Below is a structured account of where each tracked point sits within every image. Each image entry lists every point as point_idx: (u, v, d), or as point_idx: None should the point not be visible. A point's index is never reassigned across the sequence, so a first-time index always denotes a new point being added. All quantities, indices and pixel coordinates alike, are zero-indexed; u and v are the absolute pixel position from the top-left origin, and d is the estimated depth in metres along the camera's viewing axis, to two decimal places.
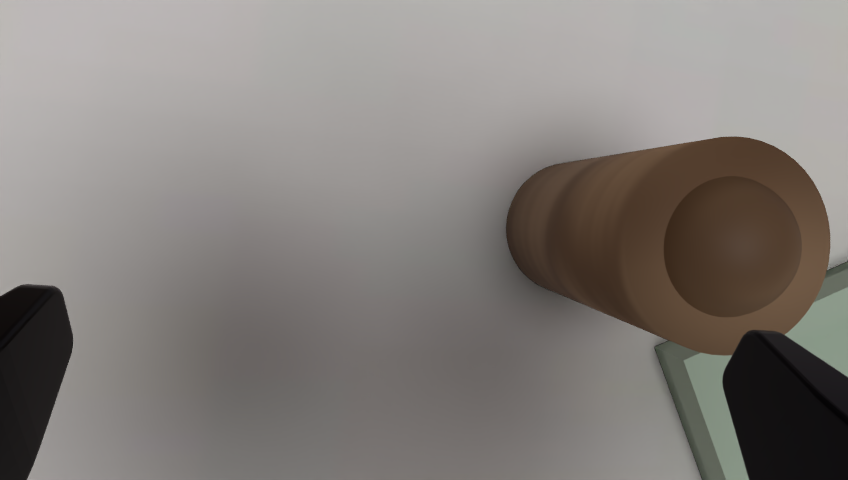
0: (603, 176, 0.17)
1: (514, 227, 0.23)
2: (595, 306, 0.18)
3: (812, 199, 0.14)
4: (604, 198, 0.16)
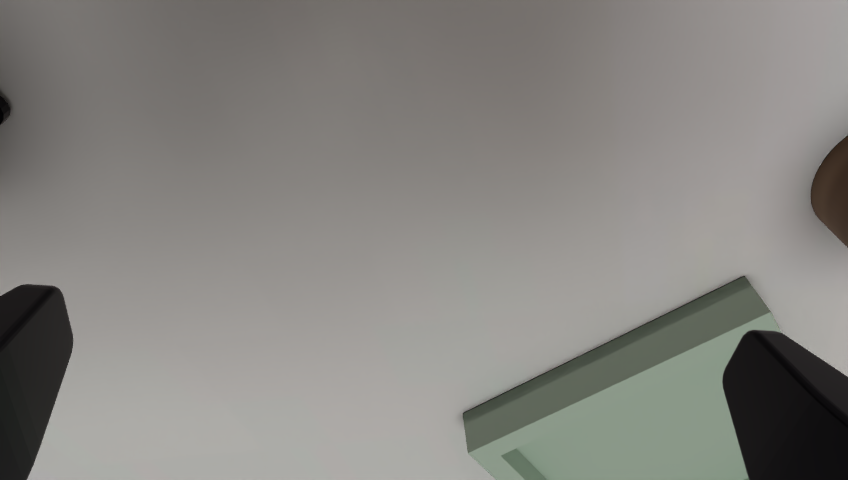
0: None
1: None
2: None
3: None
4: None
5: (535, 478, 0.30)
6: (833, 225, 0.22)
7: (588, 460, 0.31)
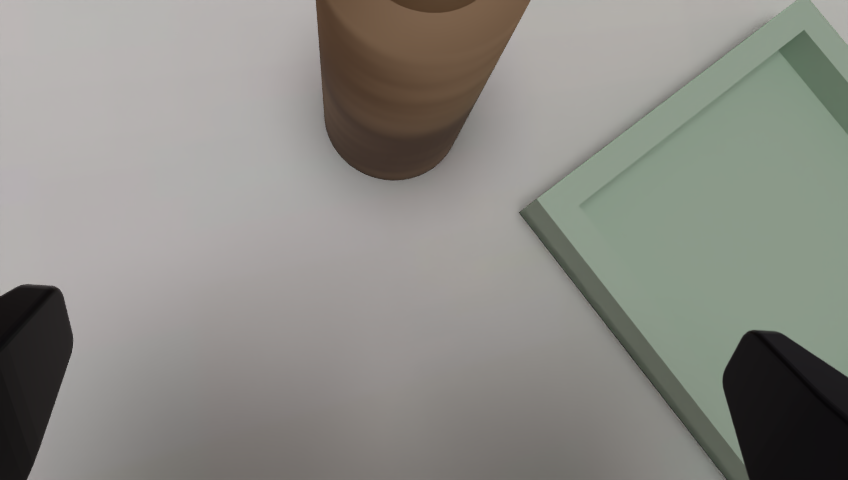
0: None
1: (325, 116, 0.22)
2: (376, 112, 0.17)
3: None
4: None
5: None
6: (432, 160, 0.22)
7: (815, 332, 0.23)
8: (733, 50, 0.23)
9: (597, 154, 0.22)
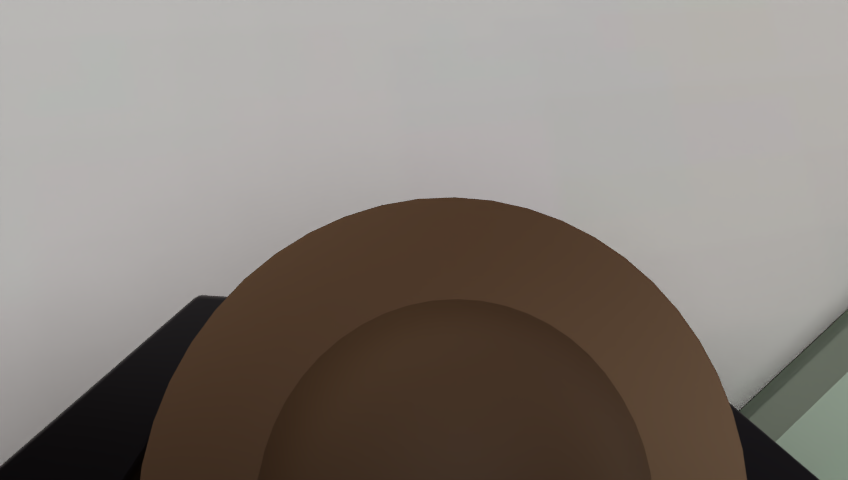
0: None
1: None
2: None
3: (640, 301, 0.06)
4: None
5: None
6: None
7: None
8: None
9: None
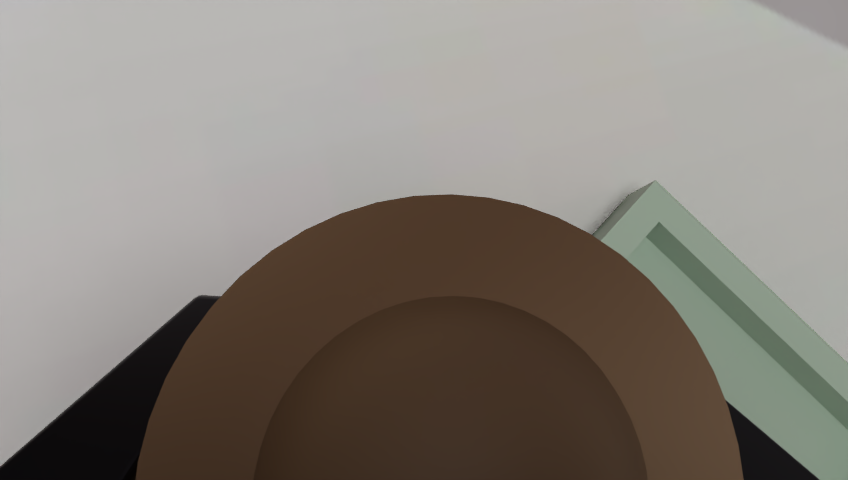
0: None
1: None
2: None
3: (636, 298, 0.06)
4: None
5: None
6: None
7: None
8: None
9: None
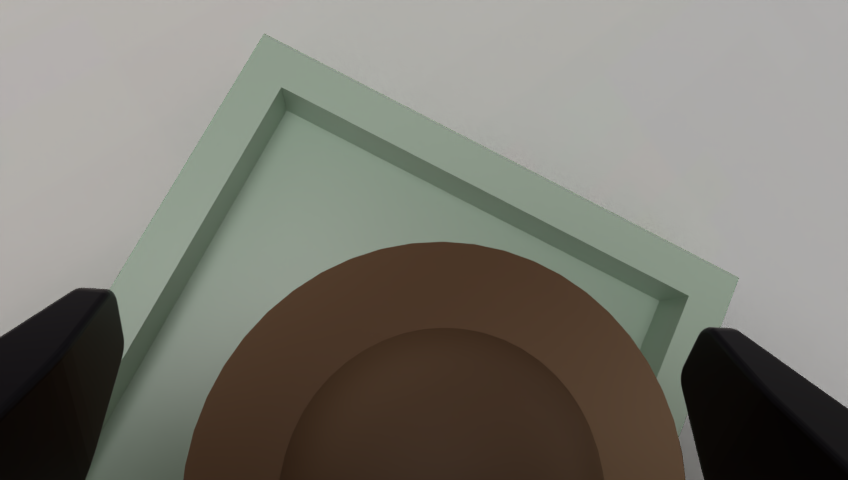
0: None
1: None
2: None
3: (598, 328, 0.07)
4: None
5: None
6: None
7: None
8: (184, 170, 0.15)
9: None
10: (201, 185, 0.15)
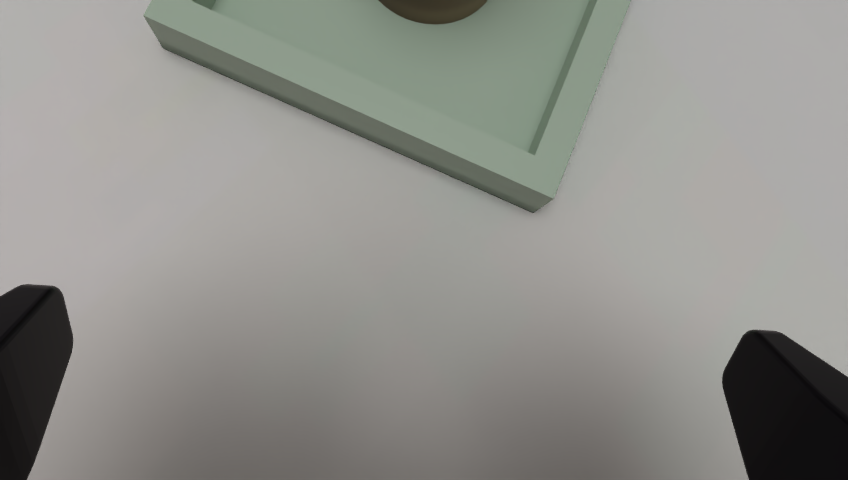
0: None
1: None
2: None
3: None
4: None
5: (565, 69, 0.21)
6: None
7: (511, 15, 0.22)
8: None
9: None
10: None
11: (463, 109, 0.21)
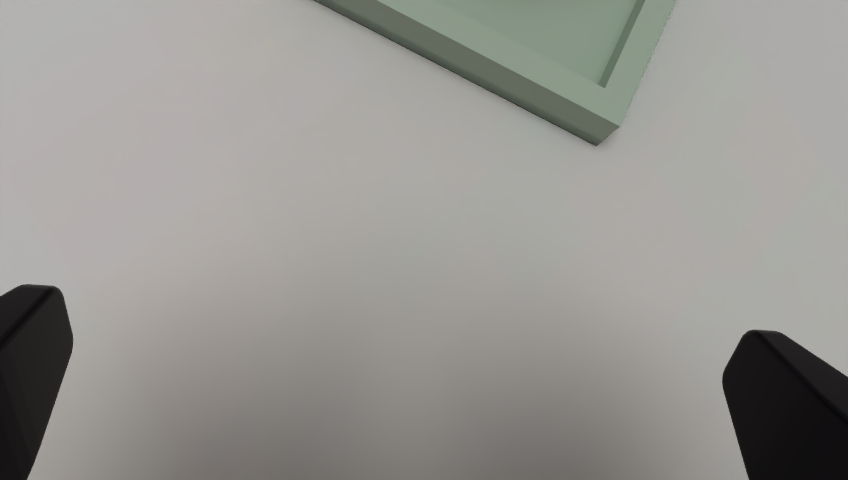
0: None
1: None
2: None
3: None
4: None
5: (632, 19, 0.24)
6: None
7: None
8: None
9: None
10: None
11: (540, 50, 0.24)
